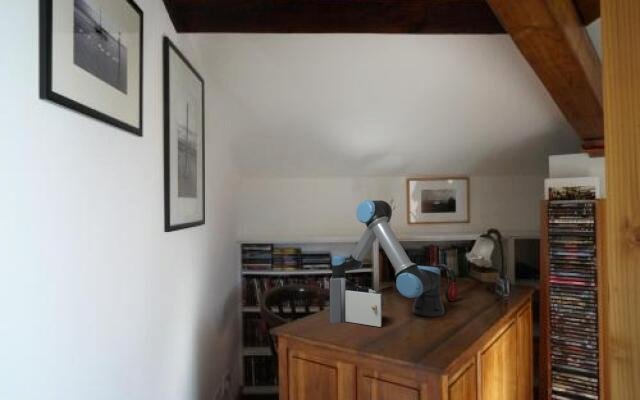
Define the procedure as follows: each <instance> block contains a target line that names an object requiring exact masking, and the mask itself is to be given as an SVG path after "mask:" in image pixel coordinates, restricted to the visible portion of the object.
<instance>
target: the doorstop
mask: <svg viewBox="0 0 640 400" xmlns="http://www.w3.org/2000/svg"><path fill="white" fill-rule="evenodd" d="M372 293H374V294H381V308H382V307H383V306H384V305H385V303H384V298H383V294H382V291H376V292H372Z"/></svg>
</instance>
